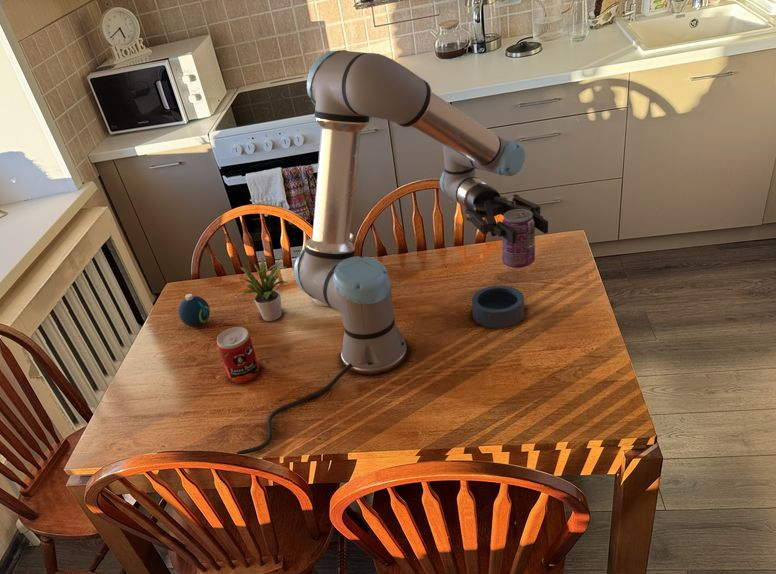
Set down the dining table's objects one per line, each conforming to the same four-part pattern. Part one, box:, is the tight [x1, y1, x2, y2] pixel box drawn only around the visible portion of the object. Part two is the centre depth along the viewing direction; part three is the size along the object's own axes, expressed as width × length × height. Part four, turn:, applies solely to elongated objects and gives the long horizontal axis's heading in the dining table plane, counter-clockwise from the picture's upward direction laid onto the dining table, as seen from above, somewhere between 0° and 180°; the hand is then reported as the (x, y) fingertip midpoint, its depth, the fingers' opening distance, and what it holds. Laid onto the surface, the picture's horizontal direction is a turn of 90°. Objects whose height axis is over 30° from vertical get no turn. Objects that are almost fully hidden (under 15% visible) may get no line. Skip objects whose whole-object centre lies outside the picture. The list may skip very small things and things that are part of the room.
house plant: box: [239, 257, 289, 322], centre depth 169 cm, size 14×14×16 cm
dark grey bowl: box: [471, 284, 525, 329], centre depth 154 cm, size 12×12×4 cm
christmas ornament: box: [178, 293, 211, 328], centre depth 175 cm, size 8×8×10 cm
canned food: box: [216, 326, 260, 384], centre depth 152 cm, size 8×8×11 cm
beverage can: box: [501, 209, 536, 269], centre depth 146 cm, size 7×7×12 cm
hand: (530, 232), depth 139 cm, fingers closed on beverage can, 7 cm apart
